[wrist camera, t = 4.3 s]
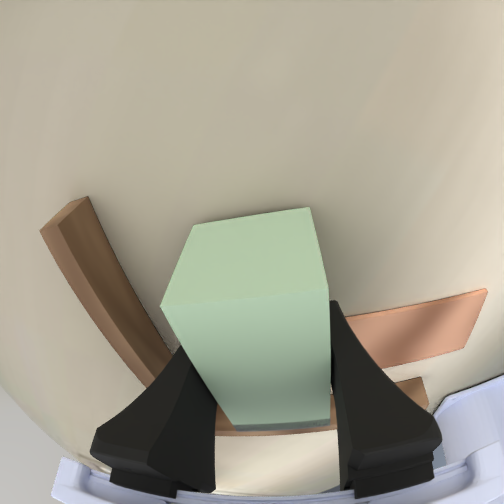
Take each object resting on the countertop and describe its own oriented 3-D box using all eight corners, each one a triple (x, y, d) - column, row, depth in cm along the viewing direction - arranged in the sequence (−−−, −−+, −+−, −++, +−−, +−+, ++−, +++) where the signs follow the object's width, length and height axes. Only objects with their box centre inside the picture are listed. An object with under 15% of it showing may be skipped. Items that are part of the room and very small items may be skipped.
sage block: (310, 206, 11) (329, 287, 7) (322, 354, 16) (330, 425, 12) (192, 225, 12) (158, 306, 8) (243, 361, 17) (237, 431, 13)
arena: (516, 139, 8) (551, 158, 6) (446, 376, 19) (454, 401, 17) (69, 202, 12) (39, 230, 10) (195, 408, 22) (191, 434, 20)
